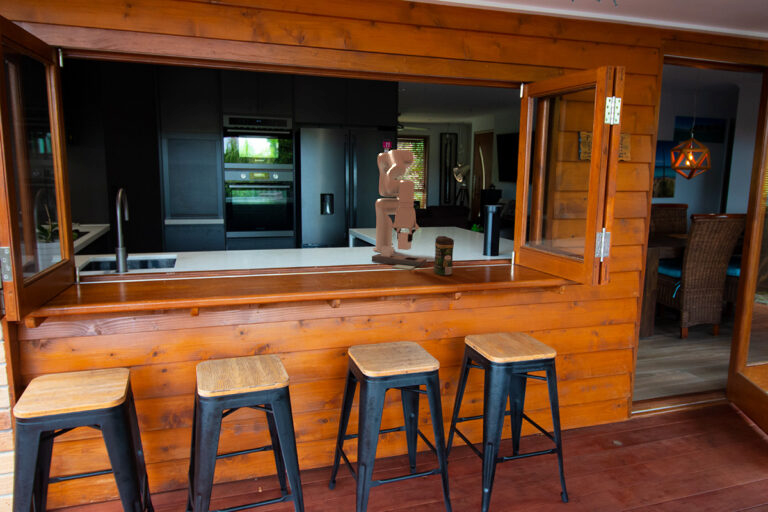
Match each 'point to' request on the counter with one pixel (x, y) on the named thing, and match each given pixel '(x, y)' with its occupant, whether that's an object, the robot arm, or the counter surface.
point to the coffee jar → (443, 255)
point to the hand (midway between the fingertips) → (404, 241)
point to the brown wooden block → (387, 251)
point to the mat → (403, 267)
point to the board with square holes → (400, 260)
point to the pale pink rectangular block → (403, 241)
